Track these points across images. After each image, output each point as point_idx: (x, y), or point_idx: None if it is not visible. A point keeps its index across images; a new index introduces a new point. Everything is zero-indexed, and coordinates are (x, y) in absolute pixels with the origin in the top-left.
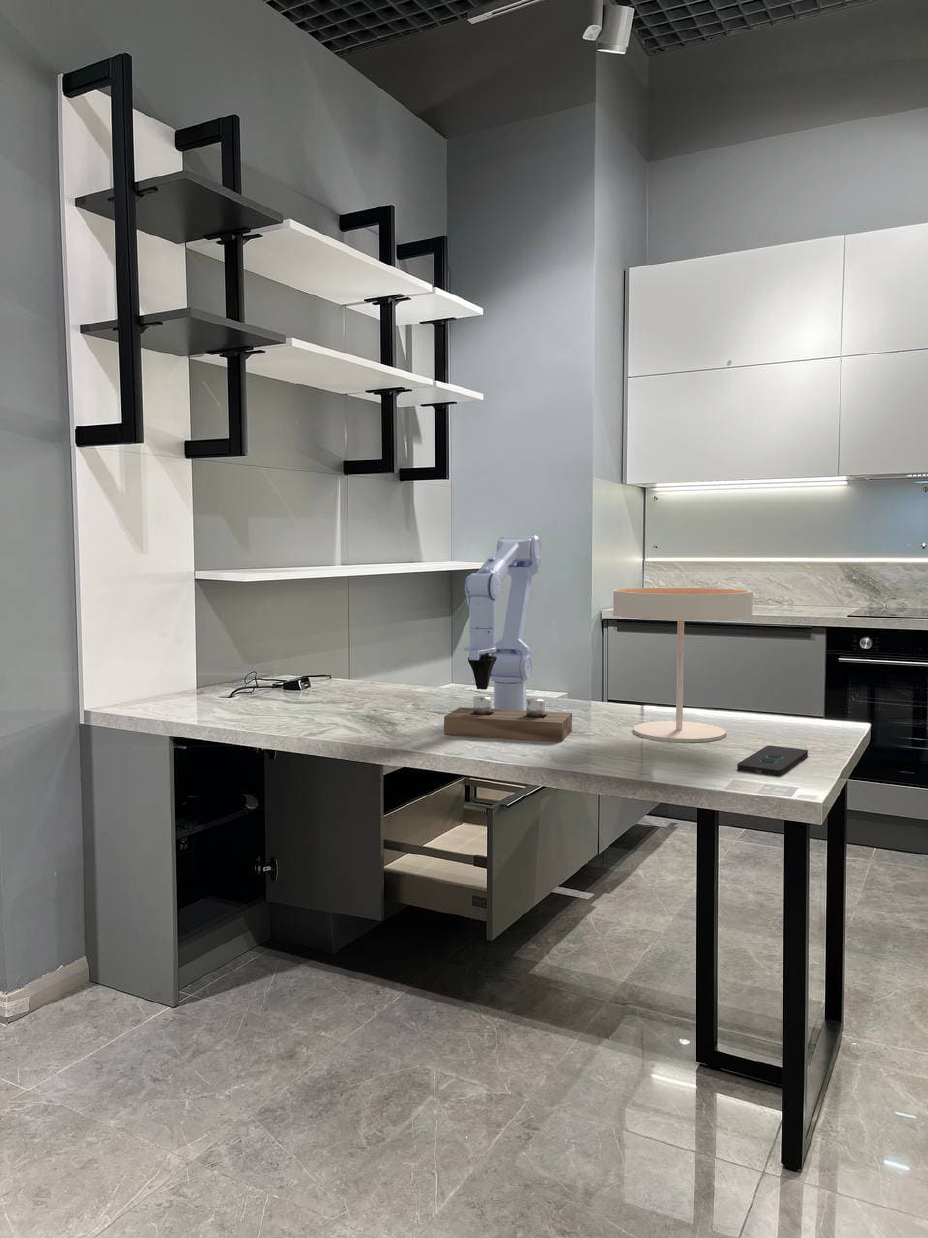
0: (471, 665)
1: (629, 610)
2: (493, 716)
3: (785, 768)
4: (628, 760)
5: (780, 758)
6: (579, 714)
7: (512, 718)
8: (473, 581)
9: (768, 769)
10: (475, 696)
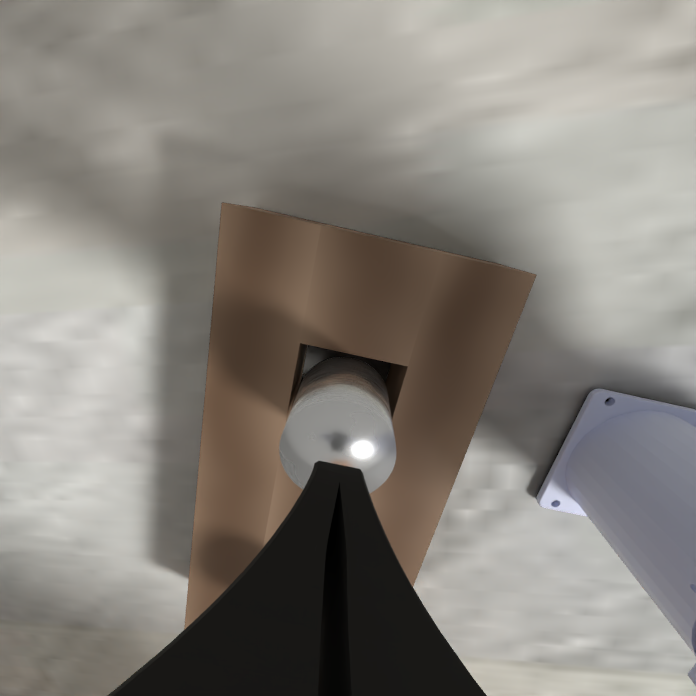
0: (167, 655)
1: None
2: (264, 451)
3: None
4: (37, 682)
5: None
6: (648, 653)
7: (229, 519)
8: None
9: None
10: (366, 413)
